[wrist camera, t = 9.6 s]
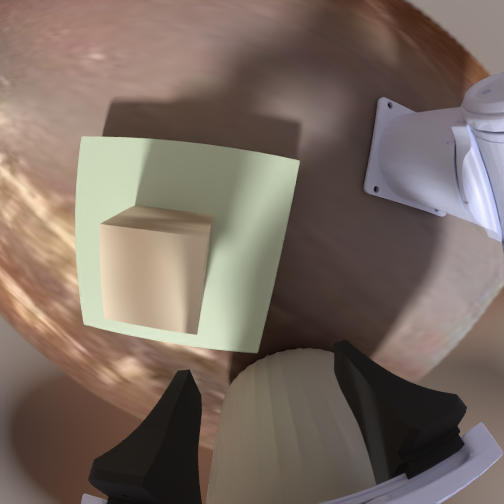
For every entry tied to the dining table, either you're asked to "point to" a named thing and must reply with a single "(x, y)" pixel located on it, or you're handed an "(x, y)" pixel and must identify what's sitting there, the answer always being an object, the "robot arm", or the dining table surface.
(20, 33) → the dining table surface
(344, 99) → the dining table surface
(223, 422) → the canister
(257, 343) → the green plinth
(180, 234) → the maple block
